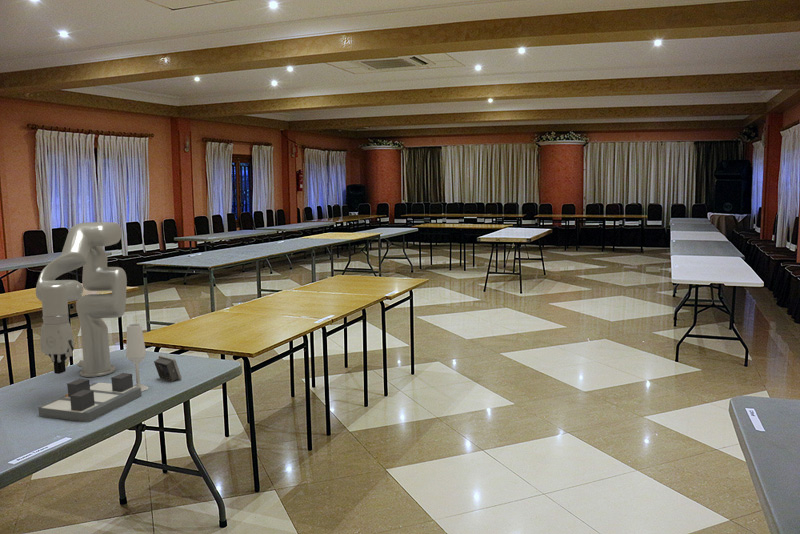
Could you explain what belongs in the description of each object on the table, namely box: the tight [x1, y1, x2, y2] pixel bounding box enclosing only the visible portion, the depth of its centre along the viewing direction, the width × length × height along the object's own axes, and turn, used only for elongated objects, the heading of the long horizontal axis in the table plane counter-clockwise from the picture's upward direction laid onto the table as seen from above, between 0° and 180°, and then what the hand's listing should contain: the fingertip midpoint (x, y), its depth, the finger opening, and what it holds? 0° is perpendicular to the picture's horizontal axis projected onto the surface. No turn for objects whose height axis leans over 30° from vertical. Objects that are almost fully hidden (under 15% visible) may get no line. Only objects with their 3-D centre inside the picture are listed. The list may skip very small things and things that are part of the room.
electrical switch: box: [153, 354, 182, 383], centre depth 228 cm, size 9×5×9 cm, turn 57°
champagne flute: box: [125, 323, 149, 392], centre depth 217 cm, size 7×7×24 cm
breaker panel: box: [37, 372, 142, 423], centre depth 202 cm, size 20×25×8 cm
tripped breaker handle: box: [66, 378, 91, 397], centre depth 203 cm, size 4×6×4 cm
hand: (60, 372), depth 204 cm, fingers closed
